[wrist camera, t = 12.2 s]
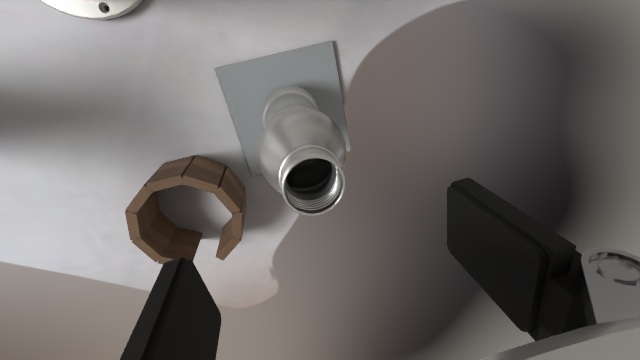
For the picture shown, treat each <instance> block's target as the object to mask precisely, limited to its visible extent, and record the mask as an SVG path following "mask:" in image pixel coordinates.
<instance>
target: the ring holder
mask: <svg viewBox="0 0 640 360" xmlns="http://www.w3.org/2000/svg"><path fill="white" fill-rule="evenodd" d="M225 166H226V165H224V164H221V163H218V162H215V161H212V160H209V159H206V158H203V157H200V156H196V157H195V156H190V157H186V158H182V159H178V160H174V161H170V162H166V163H164V164H163V165H162V166H161V167H160V168H159V169H158V170H157V171H156V172H155V174H154V175H153V176H152V177H151V178H150V179H149V180H148V181H147V182H146V183H145V184H144V186H143V187H142V188H141V190H140V191H139V192H138V194H137V195H136V196H135V198H134V199H133V200H132V202H131V203H130V204H129V206H128V207H127V209H126V211H125V214H126V219H127V224H128V230H129V235H130V240H133V241H132V243H134V244H135V245H136V246H137V247H138V248H139V249H141V250H142V251H143V252H144V253H145V254H147V255H148V256H149V257H150V258H151V259H152V260H154V261H155V262H157V261H158V263H159V264H164V263H165V262H167V261H171V260H174V259H178V258H181V257H184V258H186V260H191V261H192V262H193V259H194V256H195V254H196V251H197V248H198V245H199V242H200V239H201V236H202V233H198V232H194V231H190V230H186V229H182V228H178V227H176V226H175V225H174V224H173V223H172V222H171V221H170V220H169V219H168V218H167V217H166V216H165V215H164V214H162V213H161V212H160V211H159V205H158V197H157V191H159V190H163V189H166V188H170V187H174V186H178V185H182V184H183V185H187V186H190V187H194V188H197V189H201V190H204V191H208V192H211V193H214V194H215V195H216V196H217V198H218V199H219V200H220V201H221V202H222V203H223V204H224V205H225V206H226V208H227V209H228V210H229V211H230V212H231V213H232V218H231V219H230V220H229V222H228V223H227V224H226V225H225V226H224V227H223V230H222V234H221V238H220V242H219V246H218V250H217V254H216V257H217V258H219V259H221V260H224V259H225V258H226V257H227V256H228V254H229V253H230V252H231V251H232V250H233V249H234V248H235V247H236V246H237V244H238V243H239V242H240V241H241V239H242V233H243V225H244V218H245V189H244V188H245V187H244V186H243V185H242V183H241V182H240V181H239V180H238V178H237V177H236V176H235V175H234V173H233V172H232V171H231V170H230V169H229V167H228V166H227V167H225Z"/></svg>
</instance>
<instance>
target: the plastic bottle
mask: <svg viewBox="0 0 640 360" xmlns="http://www.w3.org/2000/svg"><path fill="white" fill-rule="evenodd" d="M261 124H262V127H263V130H264V132H263V134H262V136H261V139H260V143H259V147H258V161H259V166H260V169H261V171H262V174H263V175H264V177H265V179H266V180H267V181H268V183H269V184H270V185H271V186H272V187H273V188H274V189H275V190H276V191H278V192H279V193H281V194H282V195H283V198H284V200H285V202H286V203H287V205H288V206H289V207H290V208H291V209H292V210H294V211H295V212H297V213H299V214H302V215H306V216H316V215H321V214H324V213H326V212H328V211H330V210H331V209H333V208H334V207H335V206H336V205H337V204H338V203H339V202H340V200H341V198H342V196H343V194H344V191H345V177H344V173H343V170H344V167H345V162H346V144H345V140H344V137H343V134H342V132H341V130H340V129H339V127H338V126H337V125H336V123H335V122H334V121H333V120H331V119H330V118H329V117H328V116H327V115H325V114H323V113H321V112H320V111H319V108H318V105H317V103H316V101H315V99H314V98H313V96H312V95H311V94H310V93H309V92H308V91H306V90H304V89H303V88H300V87H297V86H291V85H290V86H283V87H280V88H277V89H276V90H274V91H272V92H271V93H270V94H269V95H268V96H267V98H266V99H265V101H264V103H263V105H262V109H261Z"/></svg>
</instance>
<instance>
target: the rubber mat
mask: <svg viewBox="0 0 640 360" xmlns="http://www.w3.org/2000/svg"><path fill="white" fill-rule="evenodd" d="M214 69H215V72H216V75H217V77H218V80H219V83H220V86H221V89H222V92H223V95H224V97H225V100H226V103H227V106H228V109H229V112H230V115H231V118H232V120H233V123H234V126H235V129H236V132H237V135H238V138H239V140H240V143H241V146H242V149H243V152H244V155H245V158H246V160H247V163H248V166H249V169H250V172H251V175H252V176H256V175H260V174H262V171H261V169H260V166H259V161H258V147H259V143H260V139H261V136H262V134H263V132H264V130H263V127H262V124H261V109H262V105H263V103H264V101H265V99H266V98H267V96H268V95H269V94H270V93H271V92H272V91H274V90H276V89H277V88H280V87H283V86H290V85H291V86H297V87H300V88H303V89H304V90H306V91H308V92H309V93H310V94H311V95H312V96H313V98H314V99H315V101H316V103H317V105H318V108H319V111H320V112H321V113H323V114H325V115H327V116H328V117H329V118H330V119H331V120H333V121H334V122H335V123H336V125H337V126H338V127H339V129H340V130H341V132H342V134H343V137H344V140H345V144H346V152H348V151H351V148H350V142H349V136H348V130H347V124H346V119H345V112H344V107H343V101H342V95H341V89H340V83H339V77H338V71H337V65H336V59H335V54H334V48H333V42H332V41H329V42H325V43H321V44H316V45H312V46H308V47H303V48H299V49H295V50H291V51H286V52H282V53H278V54H274V55H269V56H265V57H261V58H257V59H252V60H248V61H244V62H239V63H235V64H231V65H227V66H222V67H218V68H214Z"/></svg>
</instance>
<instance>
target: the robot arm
mask: <svg viewBox="0 0 640 360" xmlns="http://www.w3.org/2000/svg"><path fill="white" fill-rule="evenodd" d="M40 1H42V2H43V3H45V4H46V5H48V6H50V7H52V8H54V9H56V10H58V11H60V12H63V13H66V14H69V15H72V16H75V17H80V18H85V19H94V20H106V19H112V18H117V17H120V16H122V15H125V14H127V13H129V12H130V11H132V10H133V9H134V8H136V7H137V6H138V5H139V4H140V3H141V2H142V0H40ZM107 6H109V9H110V10H109V12H108V11H107V9H106V7H107ZM447 246H448V249H449V251H450V253H451V254H452V255H453V256H454V257H455V259H456V260H457V261H458V262H459V263H460V264H461V265H462V266H463V267H464V268H465V270H466V271H467V272H468V273H469V274H470V275H471V276H472V277H473V279H474V280H475V281H476V282H477V283H478V284H479V285H480V286H481V287H482V288H483V289H484V291H485V292H486V293H487V294H488V295H489V296H490V297H491V298H492V300H493V301H494V302H495V303H496V304H497V305H498V306H499V307H500V308H501V309H502V311H503V312H504V313H505V314H506V315H507V316H508V317H509V318H510V319H511V321H512V322H513V323H514V324H515V325H516V326H517V327H518V328H519V329H520V330H521V331H524V332H526V331H527V332H528V333H529V334H530V336H531V337H532V338H533V339H534V340H535V342H532V343H529V344H525V345H522V346H519V347H516V348H513V349H510V350H507V351H504V352H500V353H497V354H495V355H491V356H488V357H485V358H482V359H479V360H640V257H638V256H636V255H633V254H630V253H627V252H624V251H620V250H615V249H607V248H598V249H591V250H589V251H586V252H584V254H583V255H582V254H580V253H579V252H577V251H576V250H575V249H576V245H574V244H572V243H571V242H569V241H568V240H566V239H565V238H563V237H561V236H560V235H558V234H557V233H555V232H553V231H552V230H550V229H549V228H547V227H545V226H544V225H543V224H541V223H540V222H538V221H536V220H535V219H533V218H531V217H530V216H528V215H527V214H525V213H524V212H522V211H521V210H519V209H518V208H516V207H514V206H513V205H511V204H510V203H508V202H507V201H505V200H503V199H502V198H500V197H499V196H497V195H496V194H494V193H493V192H491V191H489V190H488V189H486V188H485V187H483V186H482V185H480V184H478V183H477V182H475V181H474V180H472V179H470V178H465V179H461V180H458V181H454V182H452V184H451V186H450V187H448V189H447ZM220 326H221V314H220V311H219V309H218V308H217V306H216V304H215V302H214V300H213V298H212V296H211V295H210V293H209V291H208V289H207V287H206V285H205V284H204V282H203V280H202V278H201V276H200V274H199V272H198V271H197V269H196V267H195V265H194V263H193V262H192V261H191V260H186V258H184V257H181V258H178V259H174V260H171V261H167V262H165V263H164V265H163V267H162V269H161V271H160V273H159V275H158V278H157V280H156V282H155V284H154V286H153V288H152V291H151V293H150V295H149V297H148V299H147V301H146V304H145V306H144V308H143V310H142V313H141V315H140V317H139V319H138V321H137V324H136V326H135V328H134V330H133V332H132V334H131V336H130V339H129V341H128V343H127V345H126V348H125V349H124V352H123V354H122V356H121V358H120V360H215V359H216V352H217V346H218V339H219V333H220ZM551 336H552V337H551ZM548 337H549V338H548Z"/></svg>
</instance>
